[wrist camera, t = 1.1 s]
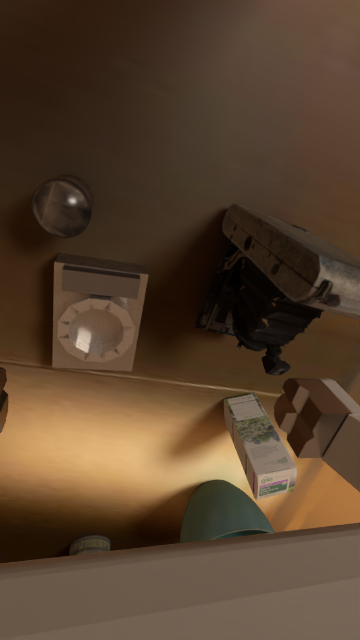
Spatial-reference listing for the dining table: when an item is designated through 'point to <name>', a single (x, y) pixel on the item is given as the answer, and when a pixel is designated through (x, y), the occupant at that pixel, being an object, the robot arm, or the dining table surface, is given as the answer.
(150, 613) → the robot arm
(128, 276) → the mount
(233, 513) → the teal bowl
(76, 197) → the knob
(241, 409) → the syrup box
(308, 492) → the dining table surface
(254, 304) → the vintage camera
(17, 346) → the dining table surface
